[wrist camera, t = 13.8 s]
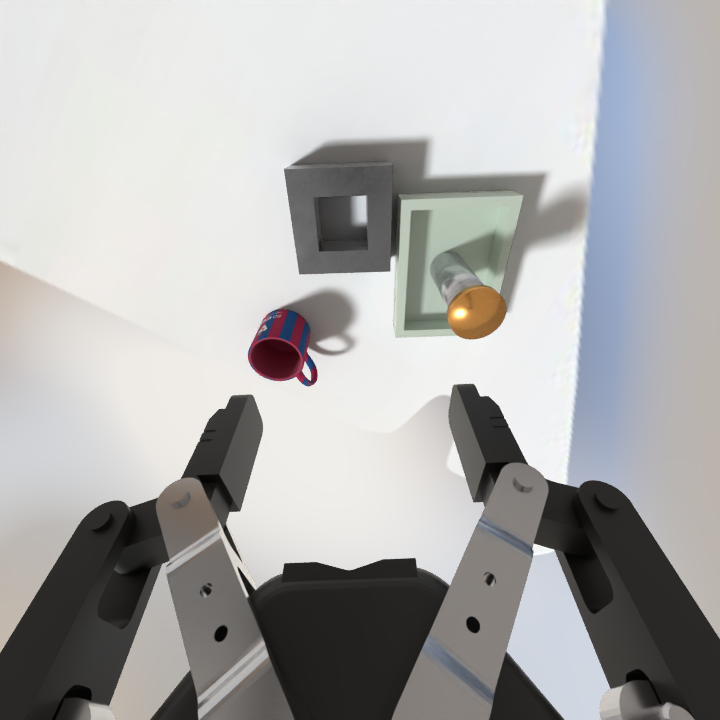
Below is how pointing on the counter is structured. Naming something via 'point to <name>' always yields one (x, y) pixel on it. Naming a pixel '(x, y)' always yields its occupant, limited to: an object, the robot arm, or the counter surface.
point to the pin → (466, 297)
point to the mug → (282, 348)
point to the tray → (448, 233)
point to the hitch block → (341, 181)
